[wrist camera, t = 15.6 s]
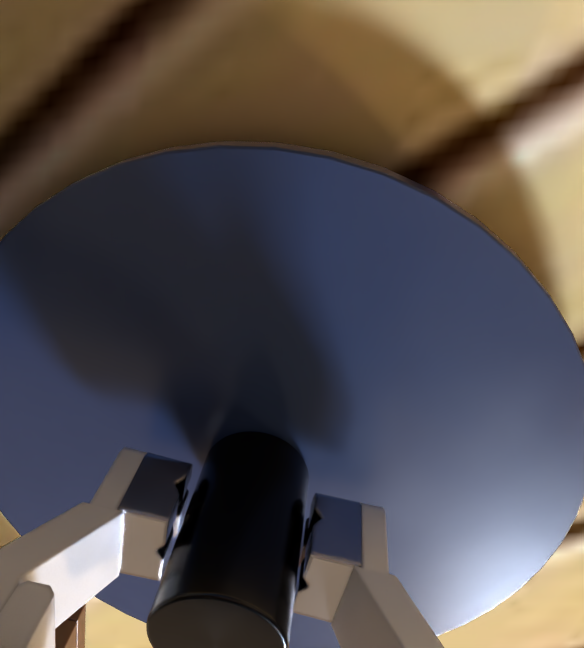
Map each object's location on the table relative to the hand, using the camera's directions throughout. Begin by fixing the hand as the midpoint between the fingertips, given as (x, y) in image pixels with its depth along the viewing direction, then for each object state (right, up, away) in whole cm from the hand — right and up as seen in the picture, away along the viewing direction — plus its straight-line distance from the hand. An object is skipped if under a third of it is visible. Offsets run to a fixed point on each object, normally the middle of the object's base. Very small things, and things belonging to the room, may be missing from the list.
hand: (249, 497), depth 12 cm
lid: (0, +1, +1) cm, 1 cm away
